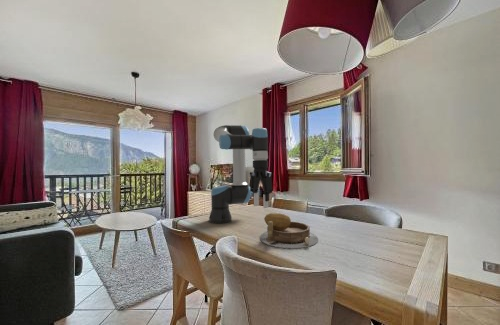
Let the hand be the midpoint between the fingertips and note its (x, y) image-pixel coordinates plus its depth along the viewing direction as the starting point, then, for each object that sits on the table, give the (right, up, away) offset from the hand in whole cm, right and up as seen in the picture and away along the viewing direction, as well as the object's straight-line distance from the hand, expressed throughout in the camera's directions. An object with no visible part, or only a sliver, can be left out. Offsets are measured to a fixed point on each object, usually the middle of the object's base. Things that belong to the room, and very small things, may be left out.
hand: (261, 206), depth 113 cm
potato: (+9, -11, +1) cm, 14 cm away
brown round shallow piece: (+12, -15, +3) cm, 20 cm away
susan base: (+14, -17, +4) cm, 22 cm away
